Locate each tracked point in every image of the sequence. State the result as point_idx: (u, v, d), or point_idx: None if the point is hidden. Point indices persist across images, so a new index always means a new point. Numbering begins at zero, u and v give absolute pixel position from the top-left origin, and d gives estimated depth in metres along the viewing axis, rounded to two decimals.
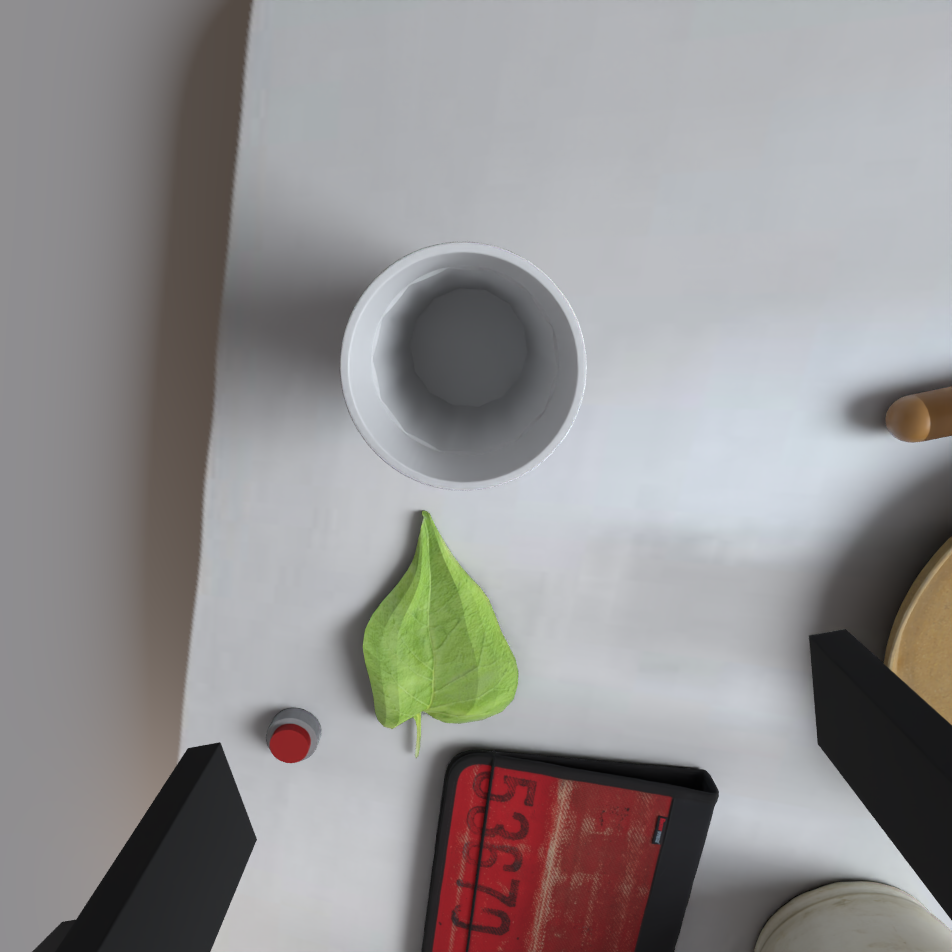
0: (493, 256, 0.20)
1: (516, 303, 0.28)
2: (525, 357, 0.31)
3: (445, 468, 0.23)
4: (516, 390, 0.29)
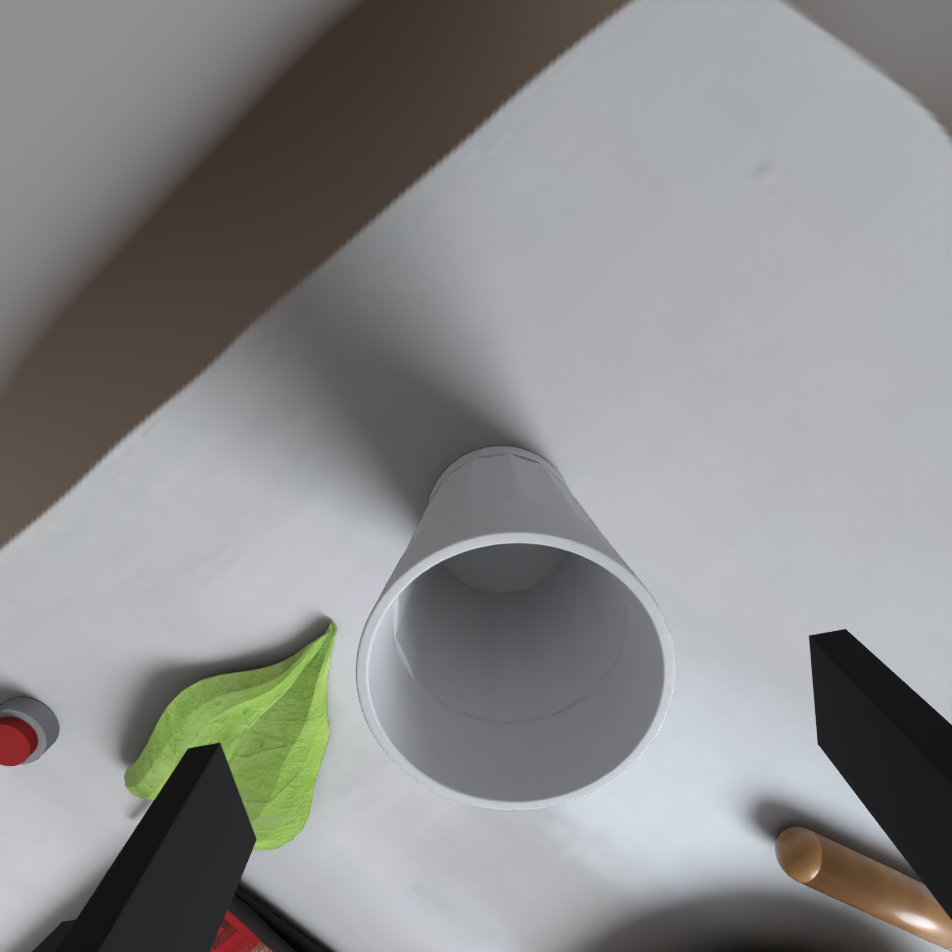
0: (642, 603, 0.15)
1: None
2: (545, 577, 0.26)
3: (411, 726, 0.18)
4: (516, 611, 0.25)
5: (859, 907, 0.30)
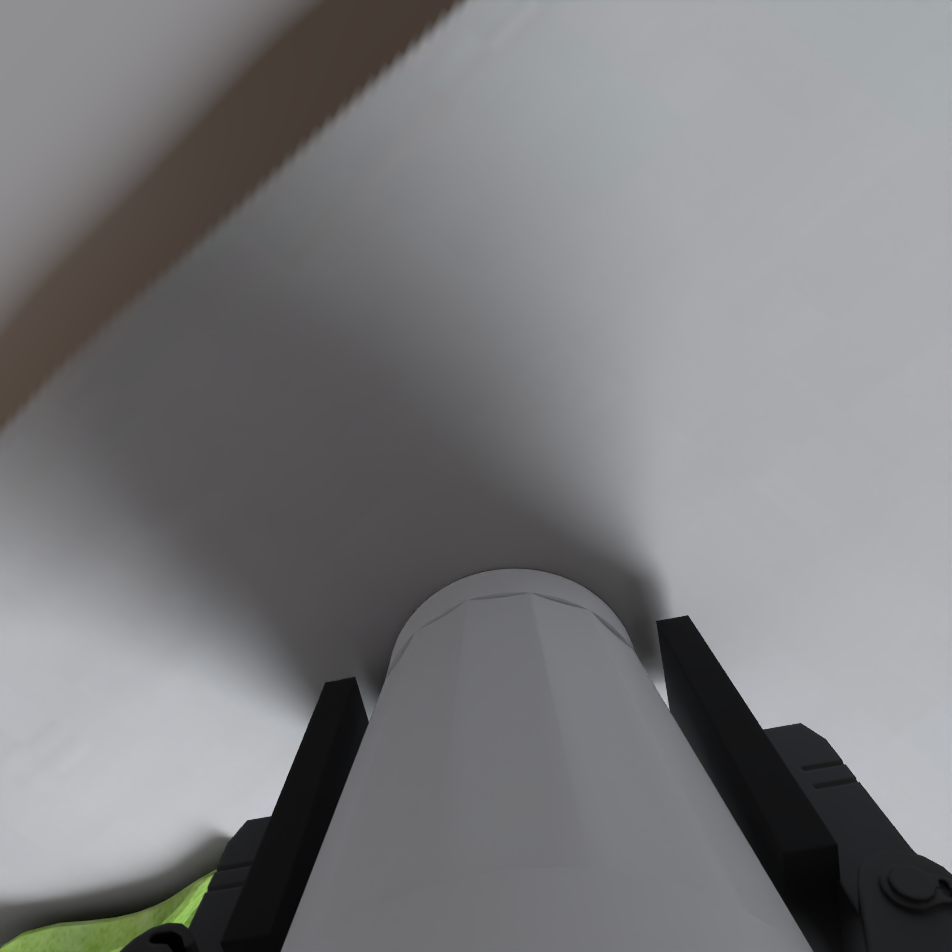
0: None
1: None
2: None
3: None
4: None
5: None
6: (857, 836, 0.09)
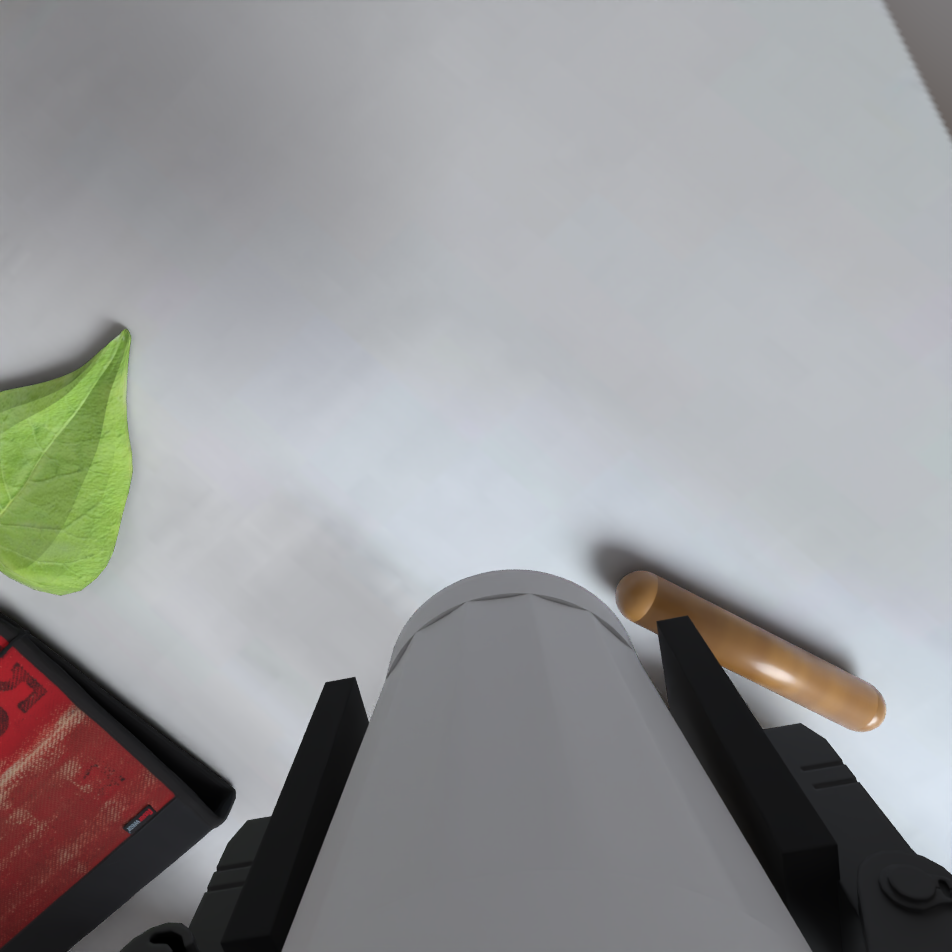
0: None
1: None
2: None
3: None
4: None
5: None
6: (857, 837, 0.09)
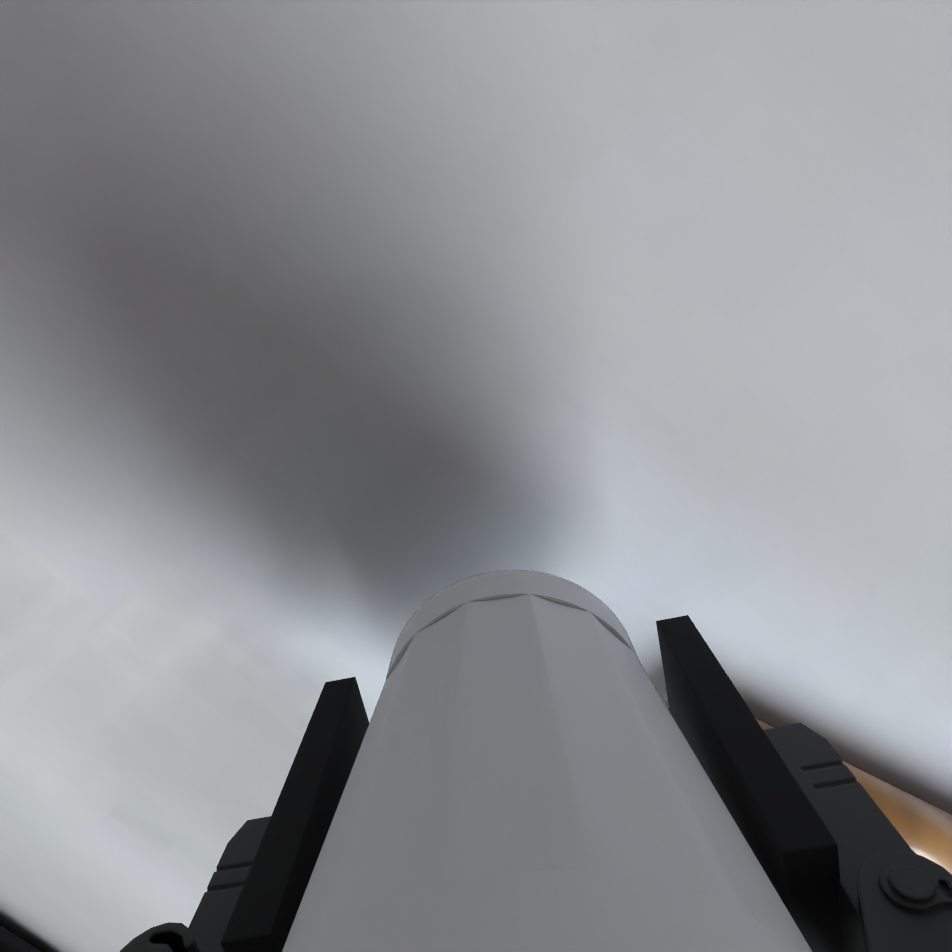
0: None
1: None
2: None
3: None
4: None
5: None
6: (857, 836, 0.09)
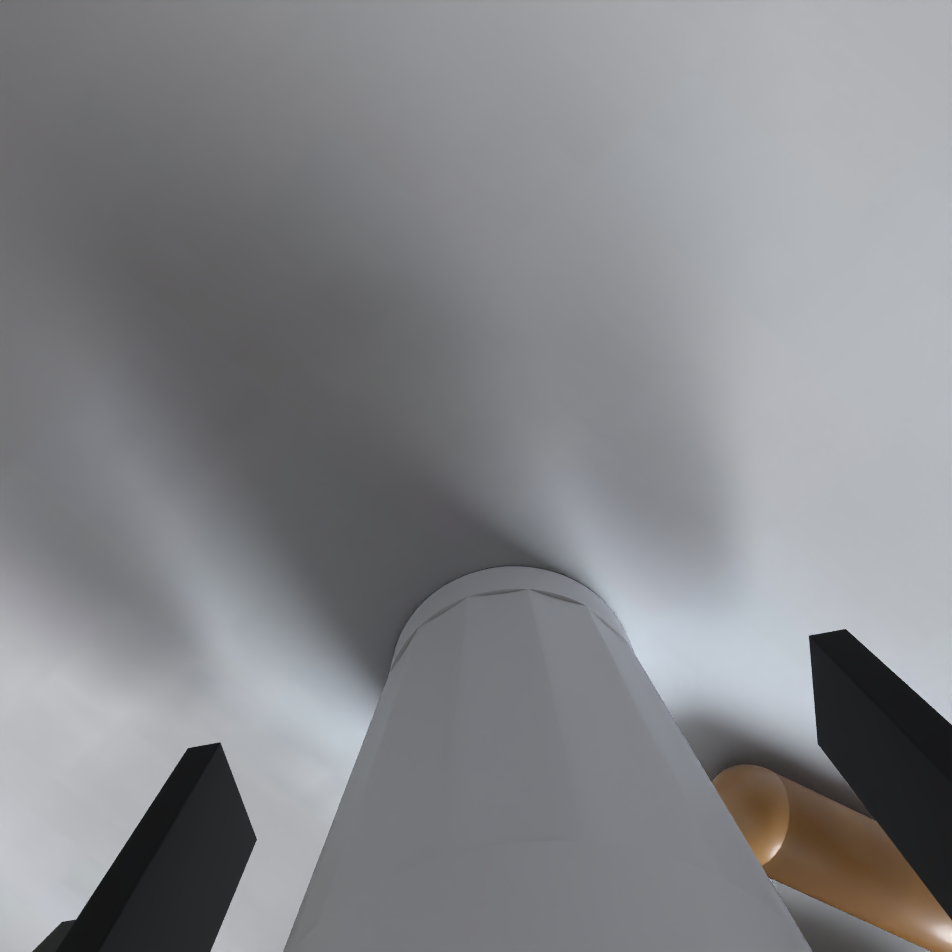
0: None
1: None
2: None
3: None
4: None
5: (862, 915, 0.16)
6: None
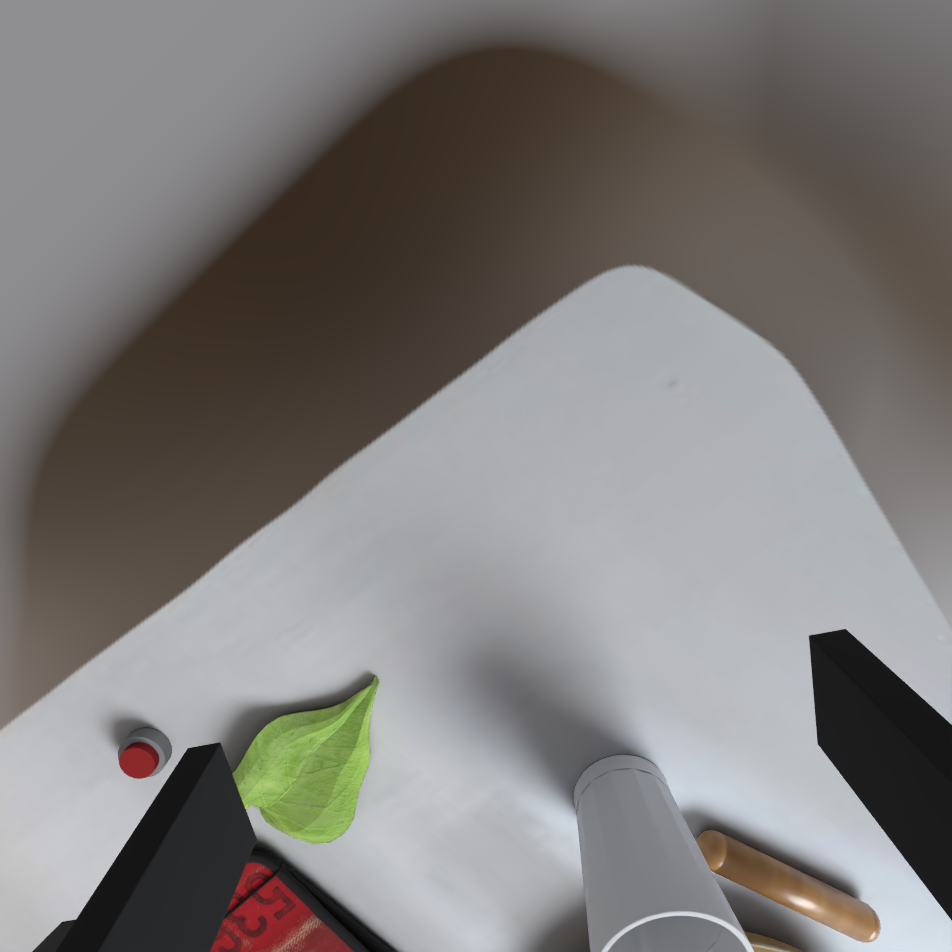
0: (741, 942, 0.30)
1: None
2: None
3: None
4: None
5: (754, 889, 0.42)
6: None
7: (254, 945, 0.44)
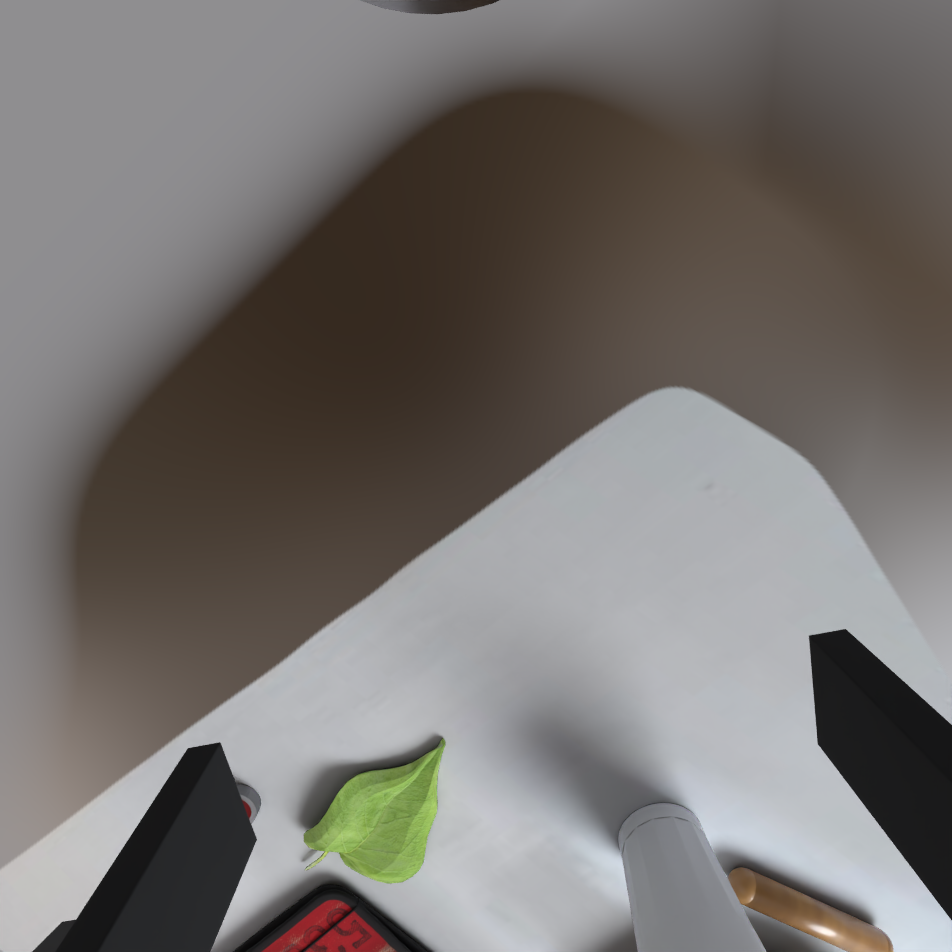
0: None
1: None
2: None
3: None
4: None
5: (781, 920, 0.47)
6: None
7: None
